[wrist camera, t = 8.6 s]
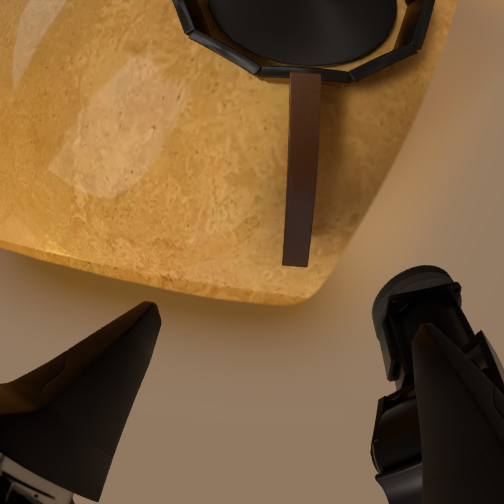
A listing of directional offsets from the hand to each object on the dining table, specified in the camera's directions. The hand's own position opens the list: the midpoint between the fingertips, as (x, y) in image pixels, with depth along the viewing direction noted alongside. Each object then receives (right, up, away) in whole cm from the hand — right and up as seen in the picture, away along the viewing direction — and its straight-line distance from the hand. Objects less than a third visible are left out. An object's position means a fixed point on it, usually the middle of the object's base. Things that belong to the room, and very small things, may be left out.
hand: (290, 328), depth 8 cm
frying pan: (+2, +13, +4) cm, 14 cm away
